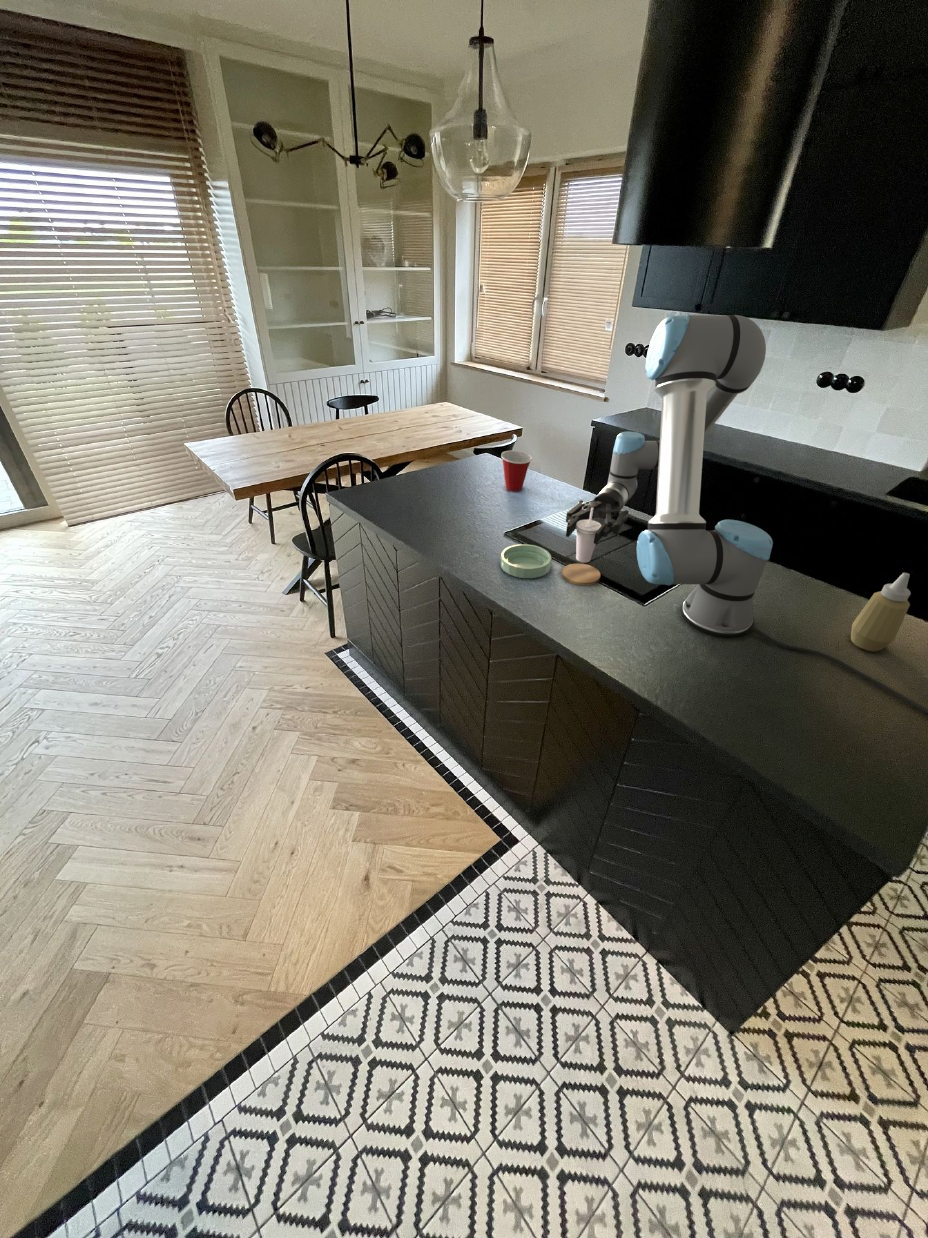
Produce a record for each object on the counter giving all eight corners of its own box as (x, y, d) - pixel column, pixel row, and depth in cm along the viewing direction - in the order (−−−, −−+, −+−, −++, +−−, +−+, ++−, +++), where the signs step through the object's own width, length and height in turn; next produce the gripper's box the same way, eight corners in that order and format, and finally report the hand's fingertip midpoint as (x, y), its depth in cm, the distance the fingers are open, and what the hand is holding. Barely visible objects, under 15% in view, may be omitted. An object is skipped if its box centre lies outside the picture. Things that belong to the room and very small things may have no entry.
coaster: (608, 577, 139) (608, 575, 139) (581, 589, 134) (581, 586, 134) (580, 562, 146) (580, 559, 145) (553, 572, 141) (554, 570, 141)
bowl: (560, 569, 143) (561, 559, 141) (522, 584, 136) (523, 573, 134) (527, 549, 151) (528, 539, 149) (490, 563, 145) (491, 552, 143)
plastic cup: (519, 497, 182) (521, 462, 175) (493, 489, 187) (494, 455, 180) (535, 487, 189) (538, 454, 182) (510, 480, 195) (512, 447, 187)
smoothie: (599, 557, 138) (608, 507, 130) (590, 567, 134) (599, 516, 126) (576, 550, 141) (584, 501, 133) (566, 560, 137) (574, 510, 128)
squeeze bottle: (887, 660, 113) (932, 588, 102) (844, 647, 116) (883, 577, 106) (887, 640, 119) (929, 571, 108) (845, 628, 122) (882, 560, 111)
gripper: (642, 522, 143) (618, 558, 127) (574, 506, 151) (543, 539, 134) (648, 495, 139) (624, 530, 122) (578, 481, 146) (546, 512, 130)
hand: (581, 535), depth 128 cm, fingers closed on smoothie, 6 cm apart
